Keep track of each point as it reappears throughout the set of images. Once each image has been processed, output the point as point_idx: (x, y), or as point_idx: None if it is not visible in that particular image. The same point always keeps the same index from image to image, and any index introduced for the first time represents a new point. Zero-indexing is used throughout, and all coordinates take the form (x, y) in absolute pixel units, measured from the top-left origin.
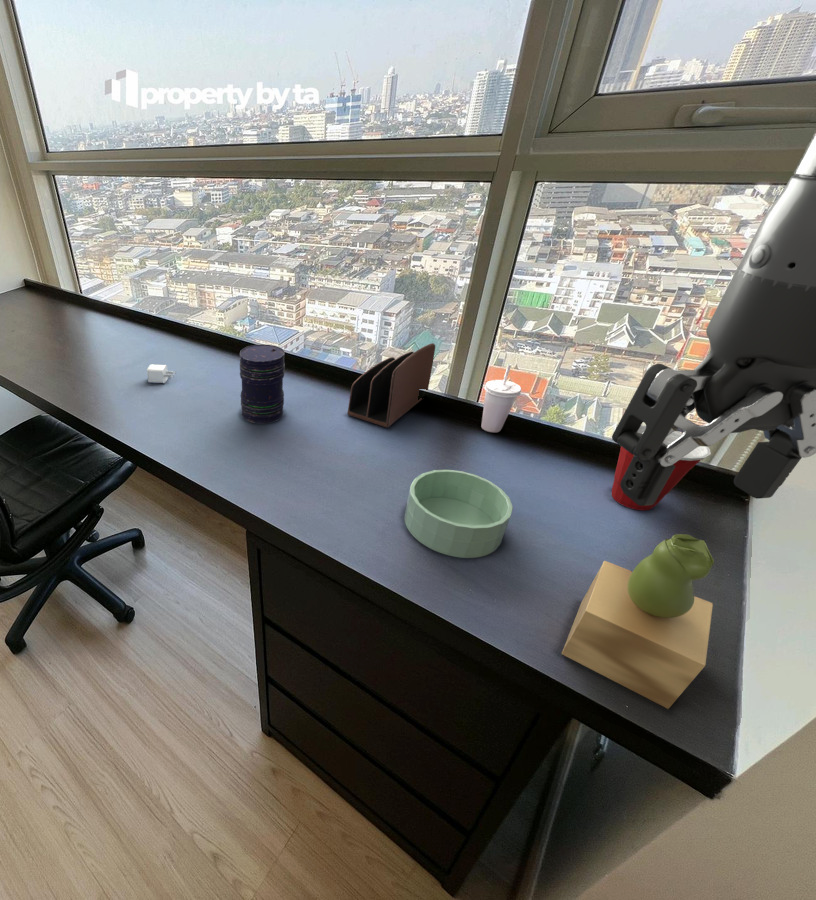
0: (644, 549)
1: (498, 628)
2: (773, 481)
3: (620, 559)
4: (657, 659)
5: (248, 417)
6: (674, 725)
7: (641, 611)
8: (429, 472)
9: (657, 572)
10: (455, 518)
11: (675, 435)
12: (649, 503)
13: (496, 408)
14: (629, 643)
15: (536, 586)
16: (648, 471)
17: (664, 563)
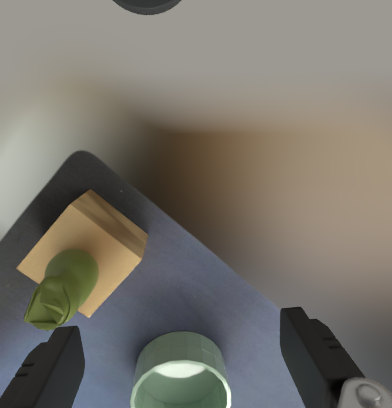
0: (9, 343)
1: (188, 258)
2: (59, 355)
3: (39, 331)
4: (97, 216)
5: None
6: (93, 176)
7: None
8: None
9: (82, 287)
10: (174, 377)
11: None
12: (292, 309)
13: None
14: (113, 230)
15: (134, 300)
16: (354, 370)
17: (77, 294)
